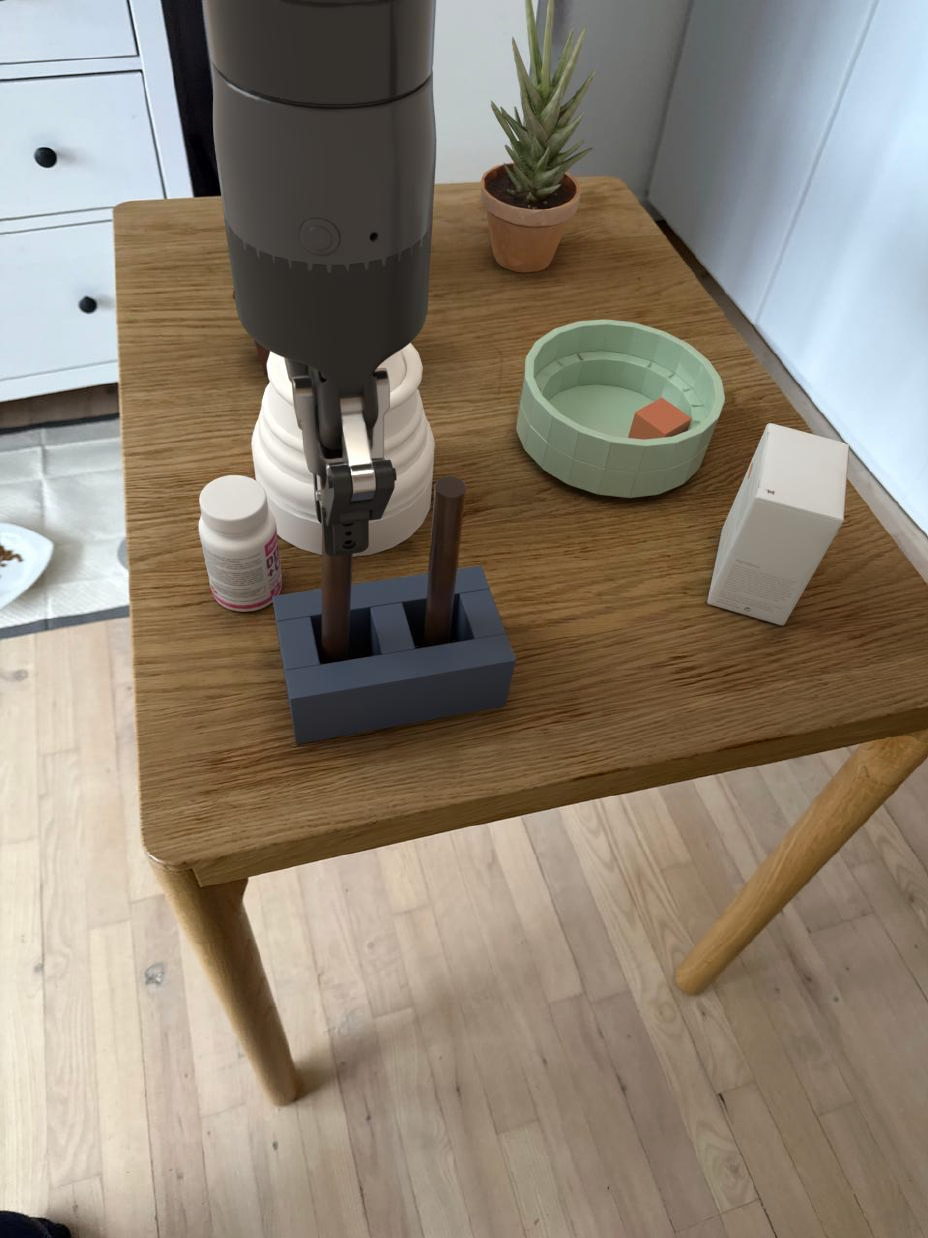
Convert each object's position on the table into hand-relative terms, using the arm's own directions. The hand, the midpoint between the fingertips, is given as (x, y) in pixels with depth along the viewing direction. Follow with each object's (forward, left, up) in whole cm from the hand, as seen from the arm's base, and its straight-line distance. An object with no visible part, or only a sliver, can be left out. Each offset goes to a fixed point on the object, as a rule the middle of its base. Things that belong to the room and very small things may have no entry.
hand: (341, 532), depth 46 cm
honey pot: (-8, -15, -14) cm, 22 cm away
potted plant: (-39, -37, -14) cm, 55 cm away
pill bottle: (+2, -10, -14) cm, 17 cm away
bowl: (-30, -11, -14) cm, 35 cm away
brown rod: (+1, 0, -11) cm, 11 cm away
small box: (-30, +6, -14) cm, 33 cm away
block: (-32, -8, -13) cm, 35 cm away
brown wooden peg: (-5, +2, -14) cm, 15 cm away
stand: (-3, +1, -14) cm, 14 cm away
